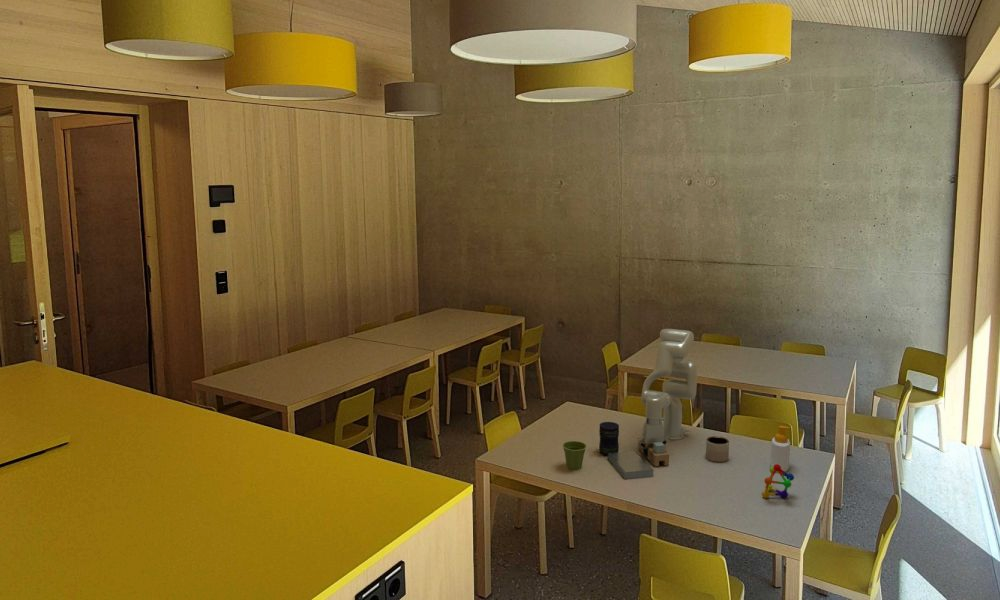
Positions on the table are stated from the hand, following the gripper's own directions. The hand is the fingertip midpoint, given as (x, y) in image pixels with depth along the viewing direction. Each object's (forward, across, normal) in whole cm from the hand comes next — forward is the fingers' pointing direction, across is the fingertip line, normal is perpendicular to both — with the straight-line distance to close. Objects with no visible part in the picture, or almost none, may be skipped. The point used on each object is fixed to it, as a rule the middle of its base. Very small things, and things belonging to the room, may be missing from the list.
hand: (653, 454), depth 344 cm
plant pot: (+1, +42, +3) cm, 42 cm away
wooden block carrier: (+1, 0, 0) cm, 1 cm away
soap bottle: (+3, -54, +24) cm, 59 cm away
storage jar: (+2, +20, -10) cm, 22 cm away
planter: (+2, -30, +8) cm, 32 cm away
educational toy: (+2, -36, +51) cm, 62 cm away
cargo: (-4, 0, +7) cm, 8 cm away
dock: (+1, +16, +9) cm, 18 cm away
